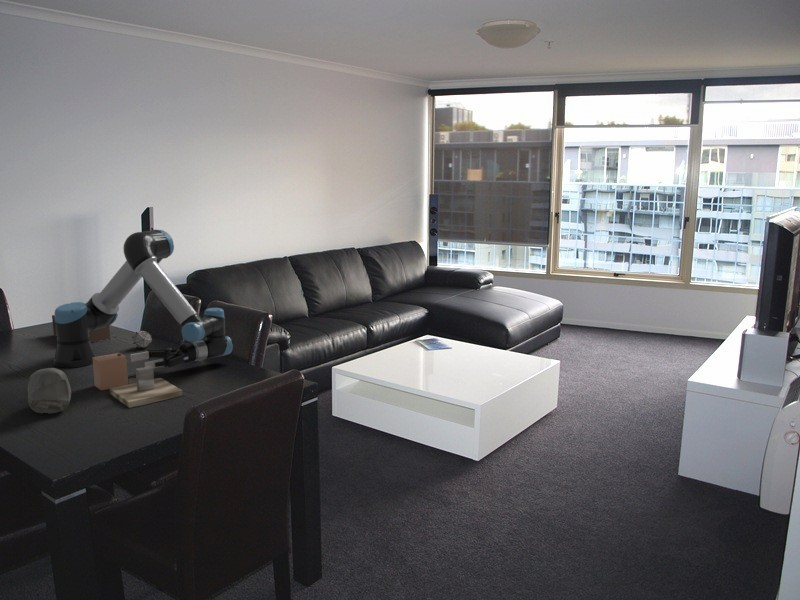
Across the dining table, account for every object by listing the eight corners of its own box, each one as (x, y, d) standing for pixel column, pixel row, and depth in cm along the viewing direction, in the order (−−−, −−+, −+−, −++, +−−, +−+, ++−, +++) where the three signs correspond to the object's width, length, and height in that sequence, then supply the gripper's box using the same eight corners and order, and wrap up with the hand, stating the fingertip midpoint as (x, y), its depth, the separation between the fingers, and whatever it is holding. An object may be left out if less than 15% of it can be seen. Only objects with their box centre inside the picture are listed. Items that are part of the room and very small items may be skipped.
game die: (148, 356, 286) (161, 338, 284) (132, 353, 278) (145, 335, 277) (140, 342, 290) (152, 325, 288) (123, 340, 283) (136, 322, 281)
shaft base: (110, 393, 226) (107, 367, 224) (161, 383, 238) (159, 357, 236) (129, 408, 213) (127, 380, 211) (182, 395, 225) (180, 369, 223)
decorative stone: (72, 398, 222) (68, 355, 219) (72, 415, 206) (68, 369, 203) (32, 403, 216) (27, 359, 213) (28, 421, 201) (23, 374, 198)
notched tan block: (94, 385, 234) (92, 355, 232) (121, 380, 241) (119, 351, 238) (101, 390, 229) (98, 359, 227) (128, 384, 236) (126, 355, 233)
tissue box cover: (53, 336, 304) (51, 315, 302) (85, 330, 315) (83, 310, 313) (77, 346, 287) (76, 324, 286) (110, 340, 298) (108, 318, 296)
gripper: (208, 368, 245) (152, 379, 232) (180, 354, 264) (126, 364, 250) (207, 348, 244) (150, 359, 230) (178, 336, 262) (124, 345, 248)
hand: (137, 362), depth 240 cm, fingers open, 13 cm apart
